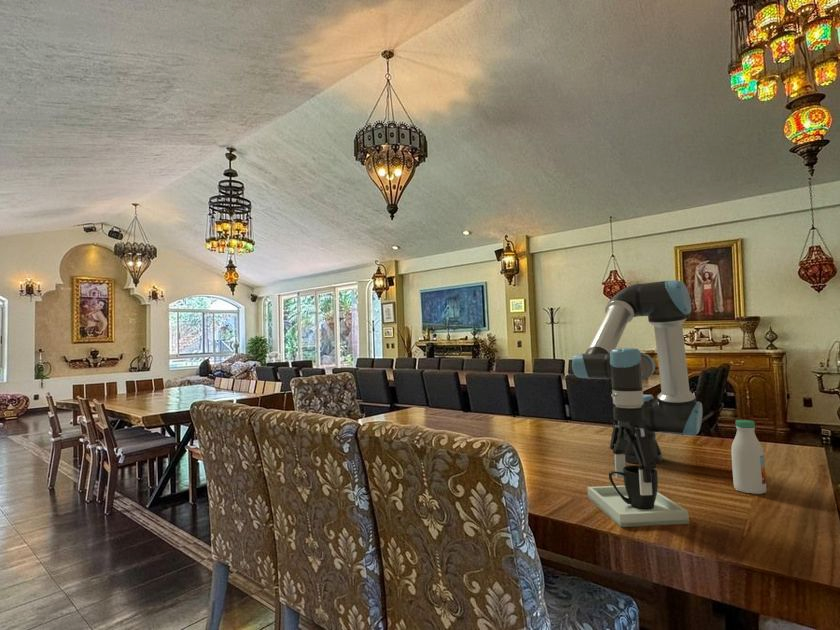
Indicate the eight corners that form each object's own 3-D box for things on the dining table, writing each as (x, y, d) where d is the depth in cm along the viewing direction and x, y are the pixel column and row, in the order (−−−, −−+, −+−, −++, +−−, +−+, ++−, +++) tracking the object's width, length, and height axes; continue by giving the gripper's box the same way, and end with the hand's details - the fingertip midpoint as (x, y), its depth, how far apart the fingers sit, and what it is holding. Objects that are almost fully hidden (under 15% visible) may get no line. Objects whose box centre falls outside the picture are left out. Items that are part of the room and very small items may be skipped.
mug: (607, 498, 125) (605, 464, 125) (654, 500, 122) (652, 465, 123) (613, 510, 117) (611, 473, 117) (663, 512, 114) (661, 474, 114)
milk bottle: (757, 496, 125) (752, 424, 126) (728, 489, 131) (723, 420, 132) (772, 491, 128) (767, 421, 129) (742, 484, 135) (737, 417, 136)
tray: (646, 494, 129) (645, 484, 129) (689, 523, 109) (688, 511, 109) (588, 497, 129) (587, 487, 129) (620, 527, 109) (619, 514, 109)
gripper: (595, 399, 133) (599, 472, 132) (637, 414, 108) (643, 503, 107) (620, 398, 133) (624, 471, 132) (668, 412, 108) (674, 502, 107)
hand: (632, 485), depth 119 cm, fingers open, 13 cm apart
